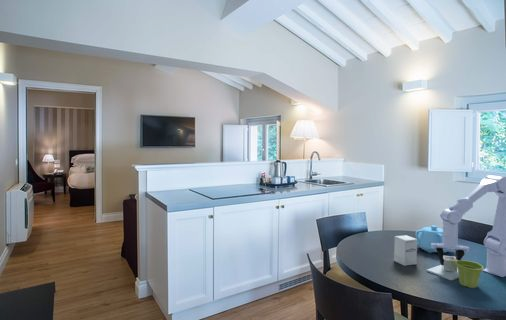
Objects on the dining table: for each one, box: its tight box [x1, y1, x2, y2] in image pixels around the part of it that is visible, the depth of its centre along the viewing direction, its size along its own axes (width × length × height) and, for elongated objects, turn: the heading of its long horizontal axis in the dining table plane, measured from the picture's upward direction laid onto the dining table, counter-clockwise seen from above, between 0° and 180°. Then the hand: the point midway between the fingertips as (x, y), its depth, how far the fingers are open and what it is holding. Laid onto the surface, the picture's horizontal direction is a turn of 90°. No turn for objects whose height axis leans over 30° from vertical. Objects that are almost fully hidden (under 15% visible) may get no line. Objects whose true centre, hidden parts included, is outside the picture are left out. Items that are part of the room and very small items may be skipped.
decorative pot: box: [414, 225, 450, 254], centre depth 168 cm, size 16×16×14 cm
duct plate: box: [426, 264, 459, 281], centre depth 141 cm, size 18×11×5 cm, turn 119°
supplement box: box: [393, 234, 418, 267], centre depth 151 cm, size 7×7×13 cm
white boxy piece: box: [440, 255, 458, 272], centre depth 140 cm, size 5×5×5 cm
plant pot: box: [456, 259, 484, 289], centre depth 128 cm, size 9×9×9 cm
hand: (449, 265), depth 140 cm, fingers closed on white boxy piece, 5 cm apart
